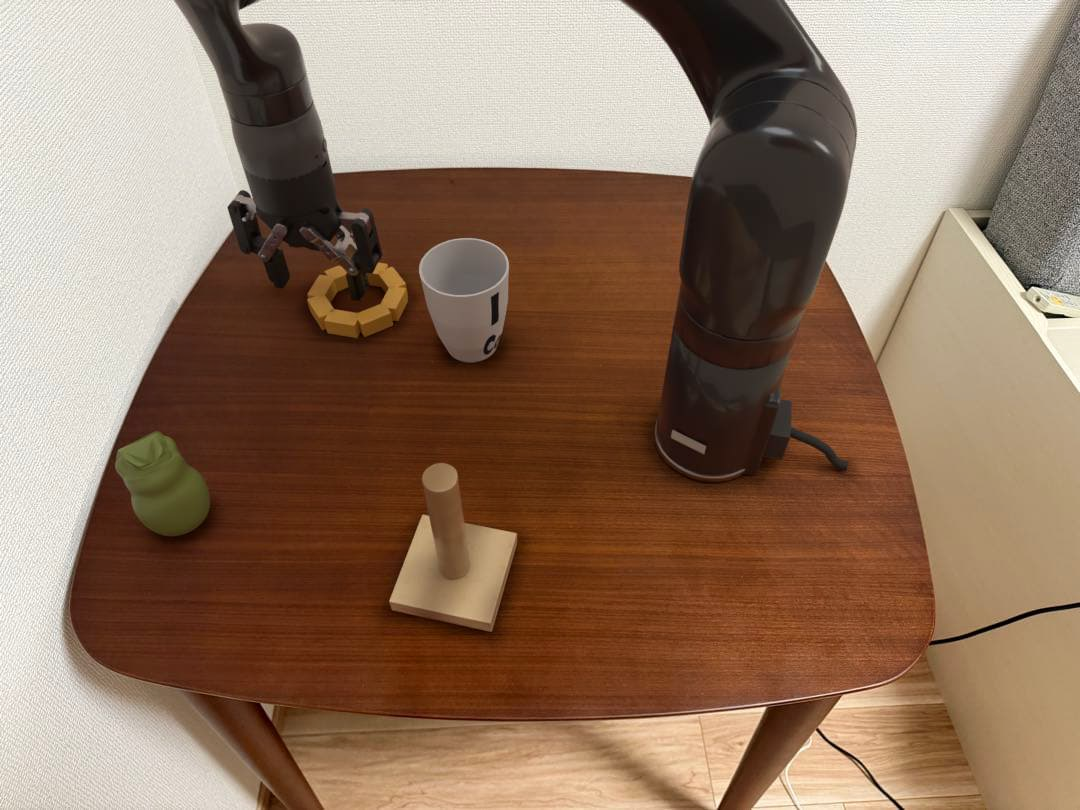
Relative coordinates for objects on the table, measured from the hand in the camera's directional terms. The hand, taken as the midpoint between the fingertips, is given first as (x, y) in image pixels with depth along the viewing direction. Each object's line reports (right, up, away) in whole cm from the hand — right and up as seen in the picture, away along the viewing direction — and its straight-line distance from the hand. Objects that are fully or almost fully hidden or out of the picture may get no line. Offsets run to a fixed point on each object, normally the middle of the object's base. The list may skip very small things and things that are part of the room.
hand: (321, 289), depth 85 cm
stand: (+16, -26, -20) cm, 36 cm away
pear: (-7, -22, -16) cm, 28 cm away
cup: (+16, -6, -3) cm, 17 cm away
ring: (+4, -1, 0) cm, 4 cm away
